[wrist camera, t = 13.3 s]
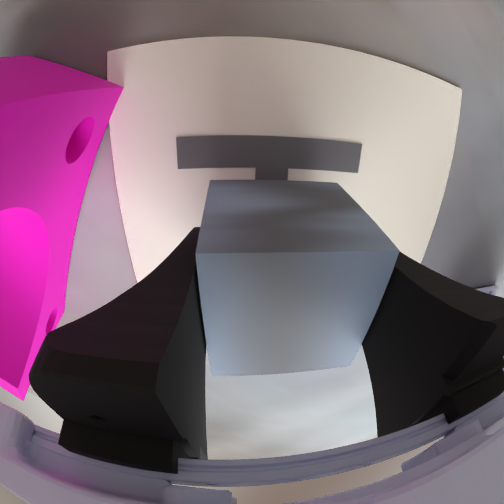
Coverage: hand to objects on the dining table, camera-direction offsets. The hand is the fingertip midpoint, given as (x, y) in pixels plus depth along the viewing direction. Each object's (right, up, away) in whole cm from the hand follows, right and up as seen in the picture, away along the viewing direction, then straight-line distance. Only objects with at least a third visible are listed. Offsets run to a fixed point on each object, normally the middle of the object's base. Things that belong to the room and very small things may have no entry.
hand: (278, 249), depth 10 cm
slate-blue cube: (0, +1, +1) cm, 2 cm away
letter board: (+1, +2, +3) cm, 3 cm away
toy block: (-13, +3, +1) cm, 13 cm away
